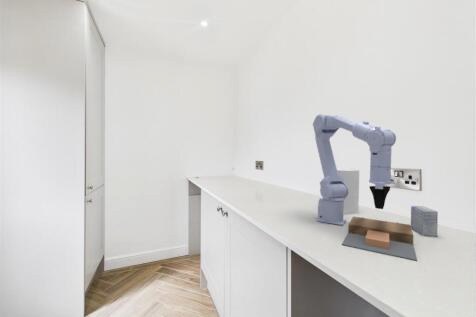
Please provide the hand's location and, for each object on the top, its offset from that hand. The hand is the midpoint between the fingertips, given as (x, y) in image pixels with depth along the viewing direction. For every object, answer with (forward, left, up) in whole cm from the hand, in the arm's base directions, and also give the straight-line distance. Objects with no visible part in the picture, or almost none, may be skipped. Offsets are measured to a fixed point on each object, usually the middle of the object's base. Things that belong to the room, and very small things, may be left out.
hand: (379, 208), depth 75 cm
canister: (-16, +33, -10) cm, 38 cm away
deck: (0, +6, -10) cm, 12 cm away
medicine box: (+13, +16, -10) cm, 23 cm away
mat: (0, -7, -10) cm, 12 cm away
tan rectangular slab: (0, -5, -10) cm, 11 cm away
